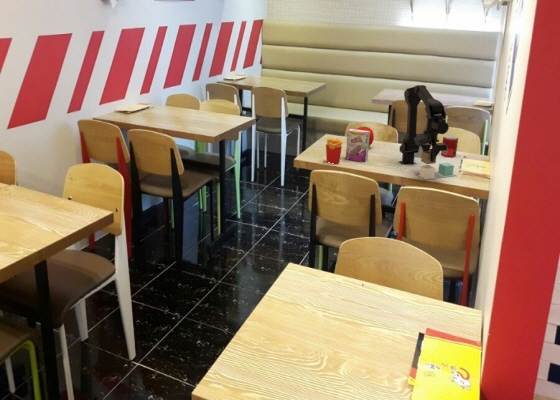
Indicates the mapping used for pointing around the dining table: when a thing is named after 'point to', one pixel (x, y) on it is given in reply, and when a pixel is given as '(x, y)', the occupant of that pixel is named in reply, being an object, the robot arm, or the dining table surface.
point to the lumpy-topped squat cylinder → (419, 153)
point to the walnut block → (427, 157)
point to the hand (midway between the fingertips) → (428, 160)
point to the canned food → (450, 145)
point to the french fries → (333, 150)
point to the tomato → (370, 133)
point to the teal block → (446, 169)
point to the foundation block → (427, 171)
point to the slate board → (436, 176)
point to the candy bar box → (357, 145)
